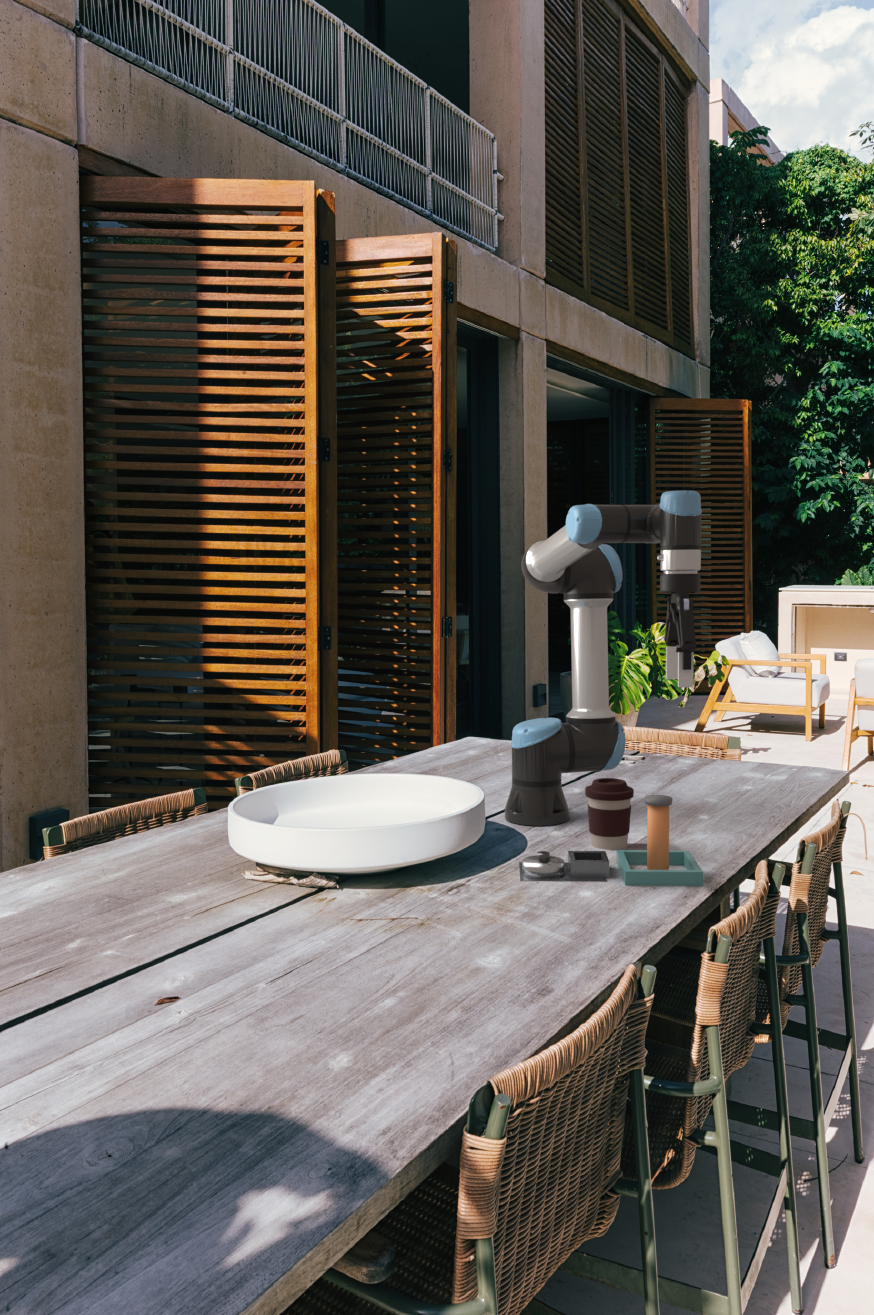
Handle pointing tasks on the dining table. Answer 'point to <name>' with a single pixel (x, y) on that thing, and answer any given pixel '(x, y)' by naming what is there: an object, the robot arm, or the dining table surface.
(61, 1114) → the dining table surface
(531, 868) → the silver rectangular stand
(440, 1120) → the dining table surface
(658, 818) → the pin
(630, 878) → the tray
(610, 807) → the coffee cup
